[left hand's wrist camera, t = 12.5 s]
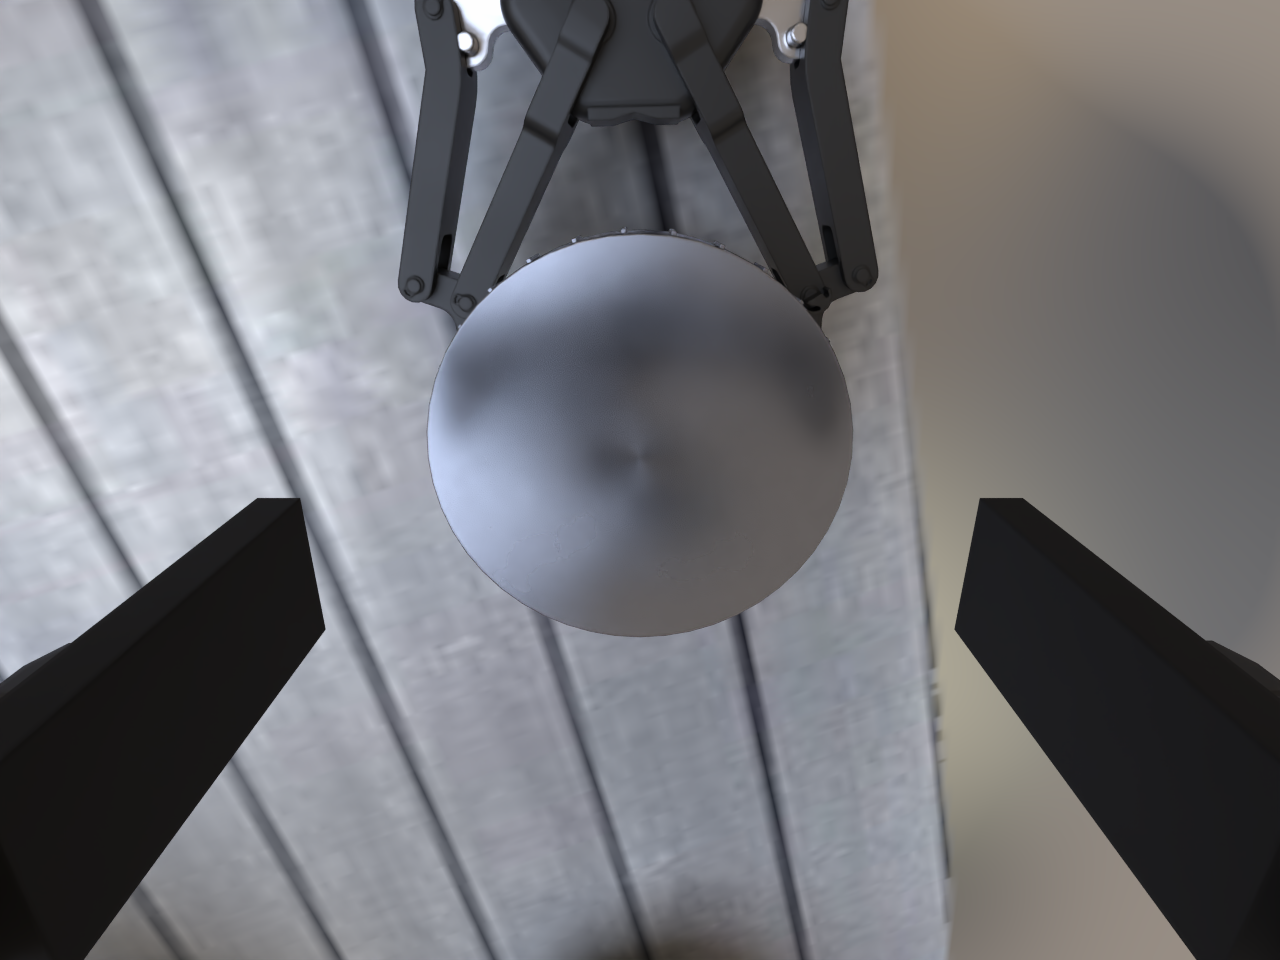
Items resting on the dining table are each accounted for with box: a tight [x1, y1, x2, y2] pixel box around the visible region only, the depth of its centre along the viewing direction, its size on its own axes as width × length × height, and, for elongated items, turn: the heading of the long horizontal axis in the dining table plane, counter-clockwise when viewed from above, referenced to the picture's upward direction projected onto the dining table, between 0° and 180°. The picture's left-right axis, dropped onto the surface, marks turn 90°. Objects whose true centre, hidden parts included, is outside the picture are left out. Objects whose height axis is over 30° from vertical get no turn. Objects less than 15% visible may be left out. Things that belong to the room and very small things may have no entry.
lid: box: [427, 227, 853, 637], centre depth 19 cm, size 11×11×2 cm
